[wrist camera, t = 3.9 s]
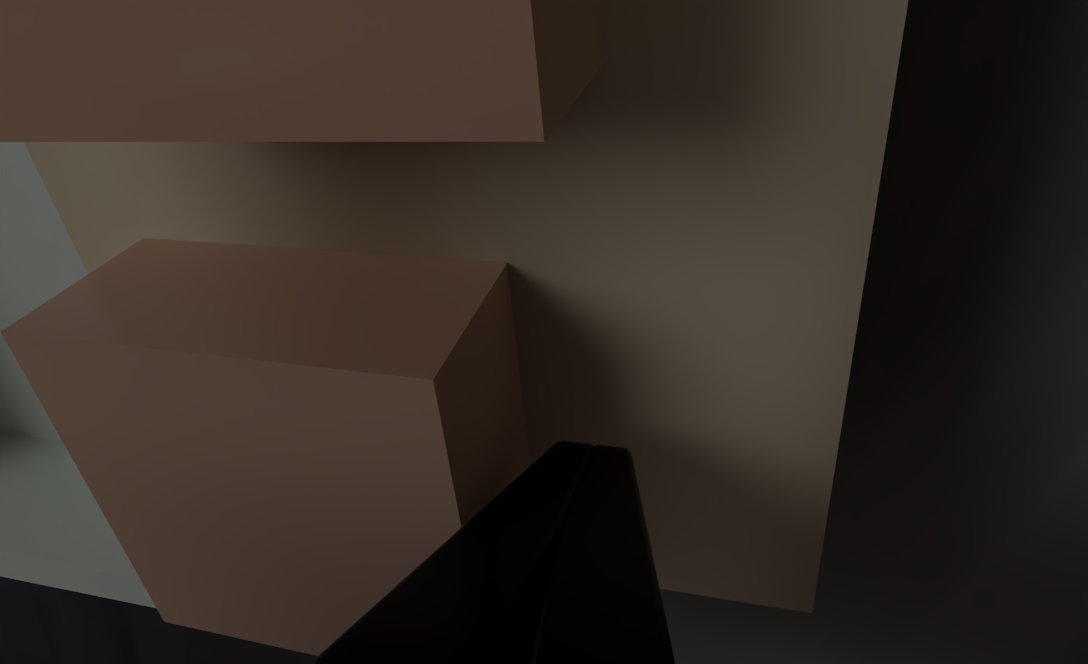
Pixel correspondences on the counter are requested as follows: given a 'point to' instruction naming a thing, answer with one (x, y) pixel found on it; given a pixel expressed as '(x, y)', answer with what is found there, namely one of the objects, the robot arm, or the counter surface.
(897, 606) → the counter surface
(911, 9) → the counter surface
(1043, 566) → the counter surface
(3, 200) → the tray
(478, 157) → the tan flat block
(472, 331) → the tile far
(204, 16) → the tile near
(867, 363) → the counter surface
